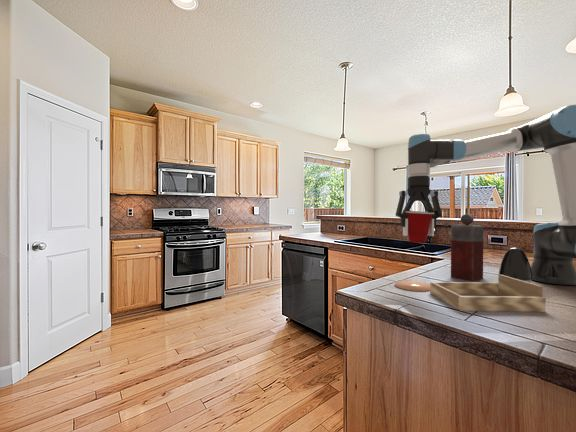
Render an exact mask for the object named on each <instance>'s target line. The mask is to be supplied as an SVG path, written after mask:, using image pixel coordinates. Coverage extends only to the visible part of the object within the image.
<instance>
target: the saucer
mask: <svg viewBox="0 0 576 432" xmlns="http://www.w3.org/2000/svg"><path fill="white" fill-rule="evenodd" d="M394 287H396V288H399V289H401V290H406V291H409V292H410V291H411V292H430V282H429V283H428V282H425V281H418V280H405V279H403V280H402V279H401V280H397V281H395V286H394Z"/></svg>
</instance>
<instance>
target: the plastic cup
mask: <svg viewBox="0 0 576 432" xmlns="http://www.w3.org/2000/svg"><path fill="white" fill-rule="evenodd" d="M406 213H407V216H406V219H408V241H409V243H415V244H425V243H427V240H428V232H429V227H430V222H431V218H432V216H433V214H434V213H428V211H421V210H419V211H418V210H417V211H416V210H409V211H406Z"/></svg>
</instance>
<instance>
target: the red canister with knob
mask: <svg viewBox="0 0 576 432" xmlns="http://www.w3.org/2000/svg"><path fill="white" fill-rule="evenodd" d="M460 222H461V223H462V224H453V225H451V228H450V278H453V279H458V280H463V281H467V282H478V281H480V280H482V279H484V226H483V225H482V224H481V225H480V224H479V225H478V224H477V225H476V224H473V223H474V216H473V215H472V214H469V213H468V214H463V215H461V217H460Z"/></svg>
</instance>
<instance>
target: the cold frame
mask: <svg viewBox="0 0 576 432" xmlns="http://www.w3.org/2000/svg"><path fill="white" fill-rule="evenodd" d="M497 280H498V282H492V281H491V282H481V281H480V282H478V281H473V282H472V281H467V282H466V281H465V282H464V281H461V282H460V281H459V282H458V281H455V282H454V281H430V282H429V284H430V291H429V294H431V295H432V296H434V297H436V298H438V299H439V300H441V301H443V302H444V303H446V304H448V305H449V306H452V307H453V308H455V309H456V310H458V311H461V312H468V311H469V312H475V311H476V312H538V313H539V312H541V313H542V312H543V313H545V312H546V297H545V296H543V286H542V285H539V284H535V283H532V282H531V283H529V282H526V281H522V280H519V279H515V278H512V277H508V276H505V275H499V274H498V279H497Z"/></svg>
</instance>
